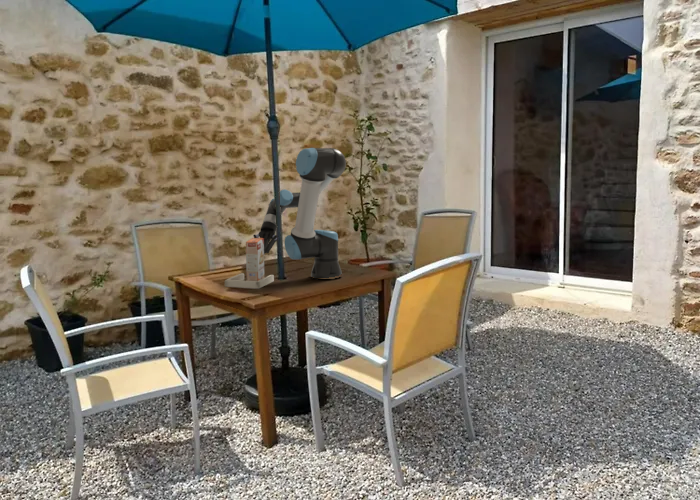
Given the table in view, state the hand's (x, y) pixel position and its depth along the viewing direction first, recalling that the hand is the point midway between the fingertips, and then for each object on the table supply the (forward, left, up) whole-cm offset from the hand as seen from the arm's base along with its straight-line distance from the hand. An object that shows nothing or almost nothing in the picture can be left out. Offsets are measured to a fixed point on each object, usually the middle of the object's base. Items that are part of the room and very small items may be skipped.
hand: (256, 263), depth 282 cm
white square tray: (0, +8, -8) cm, 12 cm away
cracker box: (-3, +8, -8) cm, 12 cm away
